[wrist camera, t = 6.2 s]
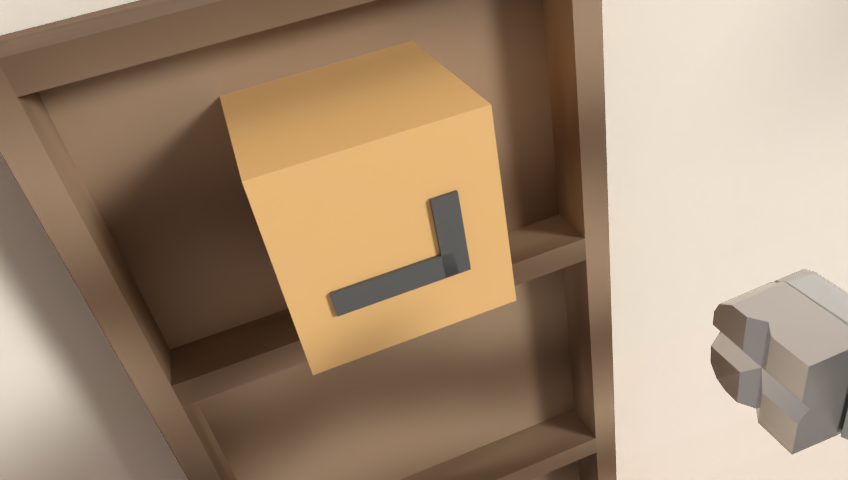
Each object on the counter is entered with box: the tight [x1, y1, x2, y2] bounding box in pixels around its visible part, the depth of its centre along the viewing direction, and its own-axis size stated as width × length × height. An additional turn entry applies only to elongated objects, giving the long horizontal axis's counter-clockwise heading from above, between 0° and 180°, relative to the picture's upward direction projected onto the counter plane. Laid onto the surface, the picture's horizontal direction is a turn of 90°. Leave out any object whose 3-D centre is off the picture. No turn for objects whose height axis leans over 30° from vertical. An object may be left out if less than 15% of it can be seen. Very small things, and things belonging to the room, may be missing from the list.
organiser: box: [0, 0, 616, 480], centre depth 23 cm, size 28×14×2 cm, turn 11°
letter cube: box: [220, 41, 516, 375], centre depth 16 cm, size 5×5×5 cm
